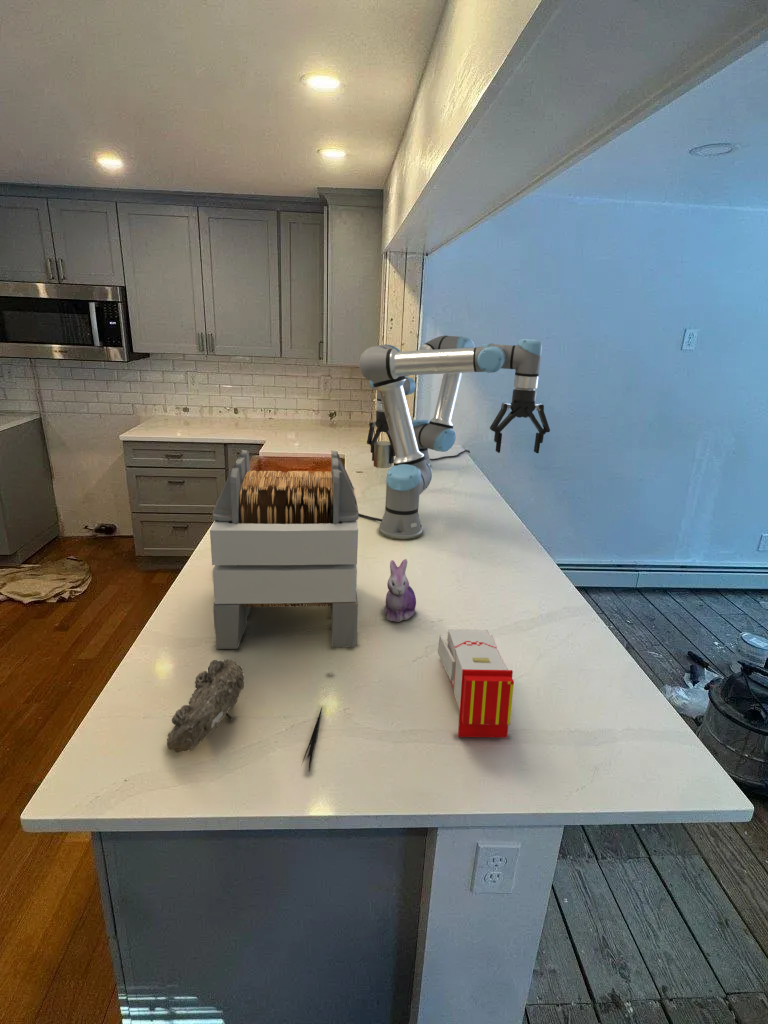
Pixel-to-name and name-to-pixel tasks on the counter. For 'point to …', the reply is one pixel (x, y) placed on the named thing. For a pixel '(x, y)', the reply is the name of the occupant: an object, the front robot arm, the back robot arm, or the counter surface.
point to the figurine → (399, 594)
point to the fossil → (206, 705)
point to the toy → (478, 682)
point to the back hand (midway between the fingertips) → (382, 461)
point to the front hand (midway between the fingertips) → (517, 452)
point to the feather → (313, 740)
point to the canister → (382, 454)
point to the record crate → (285, 547)
